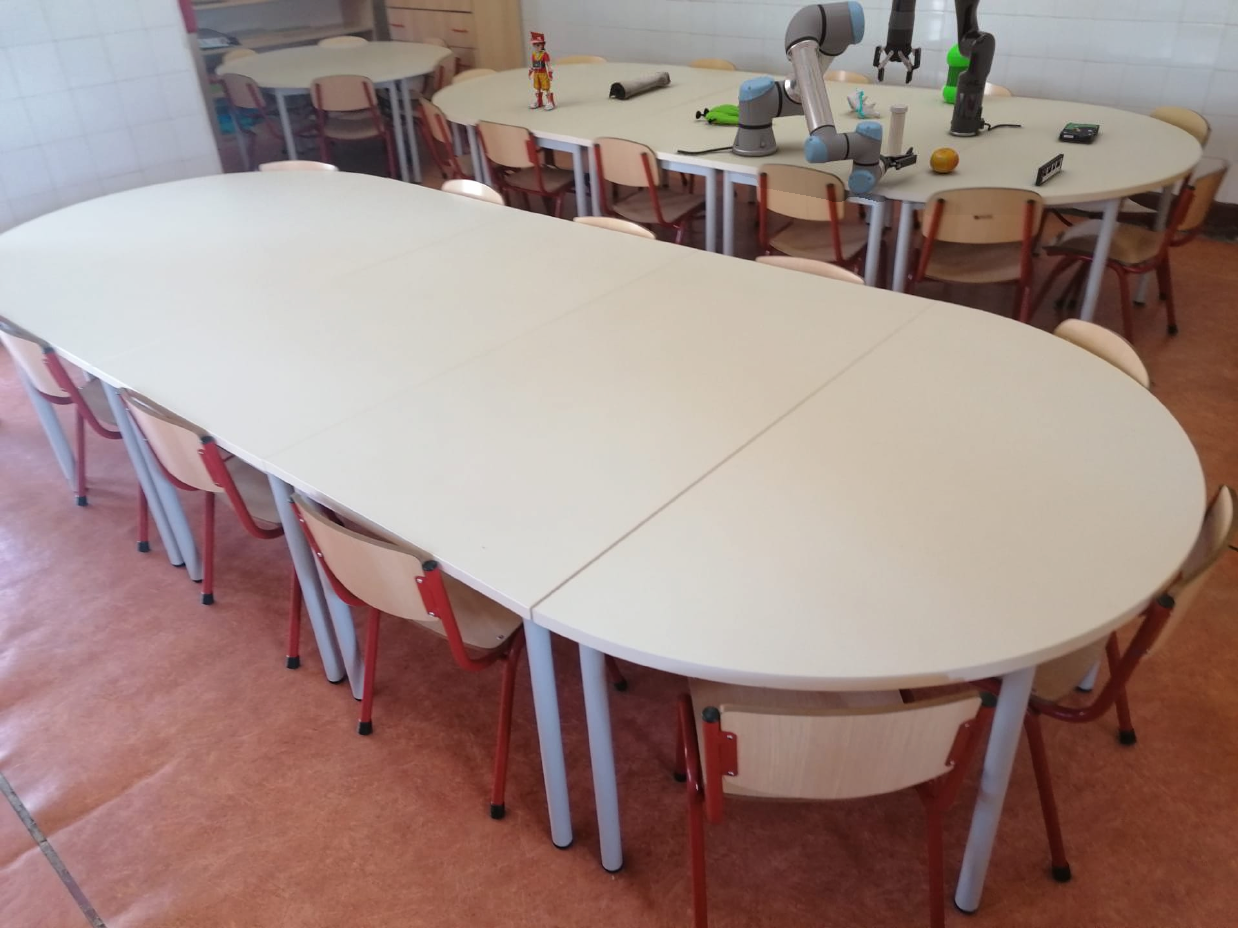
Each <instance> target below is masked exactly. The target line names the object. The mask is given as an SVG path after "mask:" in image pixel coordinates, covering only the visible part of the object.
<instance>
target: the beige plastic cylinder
mask: <svg viewBox="0 0 1238 928" xmlns="http://www.w3.org/2000/svg"><path fill="white" fill-rule="evenodd" d="M906 113H907V112H905V113H893V112H891V111H890V120H889V121H890V122H889V128H888V129H889V131H888V138H887V145H886V146H887V147H886V155H885V156H899V155H902V146H903V139H904V130H905V124H906Z"/></svg>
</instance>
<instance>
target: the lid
mask: <svg viewBox="0 0 1238 928" xmlns="http://www.w3.org/2000/svg"><path fill="white" fill-rule="evenodd" d="M889 109H890V110H889V111H890V113H891V112H893V113H905V112H906V113H907V112H908V109H909V105H908V104H904V103H895V104H891V105H890V108H889Z"/></svg>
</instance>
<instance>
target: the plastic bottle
mask: <svg viewBox="0 0 1238 928" xmlns="http://www.w3.org/2000/svg"><path fill="white" fill-rule="evenodd" d="M969 61H970V60H968V59H965V58H963V57H962V56H961V55H960V53H959V50H958V42H957V43H956V44H954V45H953V46H952V47H951V48H950V49H949V50H948V52H947V54H946V63H947V64H948V69H947V70H948V71H947V76H946V77H947V78H946V84H945V85H944V87H943V90H942V97H943V99H944V100H945V101H946V102H947V103H948V104H954V103H955V96H956V90H957V83H958V77H959V74H960V73H961V72H963V71H966V70H967V69H968V66H969Z"/></svg>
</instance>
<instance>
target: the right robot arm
mask: <svg viewBox="0 0 1238 928" xmlns="http://www.w3.org/2000/svg"><path fill="white" fill-rule="evenodd" d="M953 2H954V11H955V18H956V32H957V34H956V35H957V36H956V37H957V43H958V50H959V53H960V55H961V56H962V57H963V58H965V59H968V60H970V61H969V66H968V69H967V70H966V71H963V72H961V73H960V74H959V77H958V83H957V90H956V96H955V103H953V110H952V115H951V120H950V129H949V134H950V135H952V136H956V137H973V136H979V131H980V130H984V129H985V126H986V127H987V130H988V131H992V130H994V129H996V128H999V127H1013V128H1021V127H1022V124H1013V123H1012V124H1011V123H1010V124H1009V123H1001V124H996V125H993V126H991V124H990V123H988V122H986V120H985V118H984V117H982V115H983V109H984V107H983V102H984V96H985V90H986V83H987V79H988V77H989V75H990V73H991V70H992V65H993V61H994V57H995V51H996V44H997V43H996V38H995V36H994V35H993V33H990V32H988V31H984V30H980V28H979V27H980V26H979V21H978V8H979V5H980V2H981V0H954V1H953ZM916 6H917V0H891V7H890V9H891V10H890V15H889V17H888V18H889V19H888V23H887V26H888V28H887V35H886V44H885V46H883V45H882V44H879V45H877V46H875V50H874V56H873V62H872V66H873V67H874V68H877V69H878V70H877V80H878V82H880V83H882V82H884V79H885V77H884V76H885V66H886V65H887V64H888V63H889V62H891V63H902V64H903V65H904V66H905V68H906V69H907V71H906V76H905V84H906V85H908V84H910V82H912V80H913V75H914V71H915V70H917V69H919V68H920V67H921V58H922V48H921V47H920V46H919V47H913V46H912V43H913V35H914V27H915V19H916ZM883 53H884V54H885V55H886V56H885V57H884V58H883V60H880V59H881V55H882V54H883ZM910 54H912V56H913V57H914V59H913V63H912V59H911V58H910ZM880 61H881V62H880Z"/></svg>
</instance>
